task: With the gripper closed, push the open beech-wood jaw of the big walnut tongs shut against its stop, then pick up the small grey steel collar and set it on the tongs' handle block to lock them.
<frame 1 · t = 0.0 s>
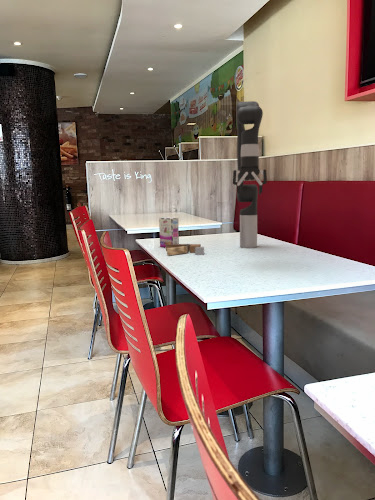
hand: (249, 194, 183), 29 cm above the table, tool pointing down, fingers open, 8 cm apart
jaw: (177, 250, 211), point 2 cm above the table, hinge at 45.0°
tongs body: (194, 251, 218), on the table
candy bar box: (169, 247, 235), on the table
collar: (199, 254, 211), on the table
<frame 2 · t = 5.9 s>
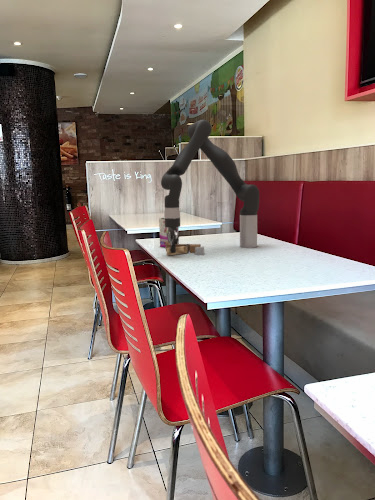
hand: (173, 252, 207), 2 cm above the table, tool pointing down, fingers closed
jaw: (176, 250, 211), point 2 cm above the table, hinge at 43.1°, touching gripper
everything else where it was.
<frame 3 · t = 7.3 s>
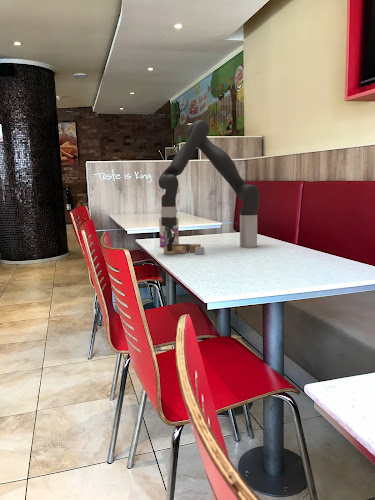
hand: (169, 251, 211), 2 cm above the table, tool pointing down, fingers closed
jaw: (174, 249, 214), point 2 cm above the table, hinge at 17.3°, touching gripper
everything else where it was.
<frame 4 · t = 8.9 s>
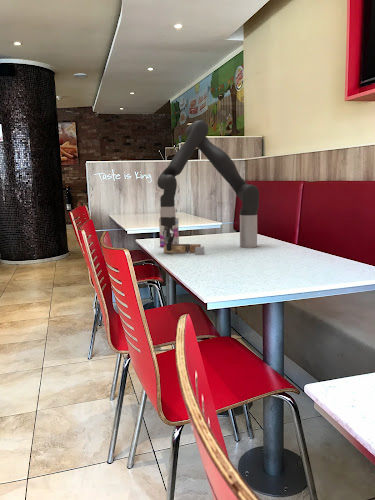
hand: (168, 250, 214), 2 cm above the table, tool pointing down, fingers closed
jaw: (174, 249, 216), point 2 cm above the table, hinge at -0.4°, touching gripper
everything else where it was.
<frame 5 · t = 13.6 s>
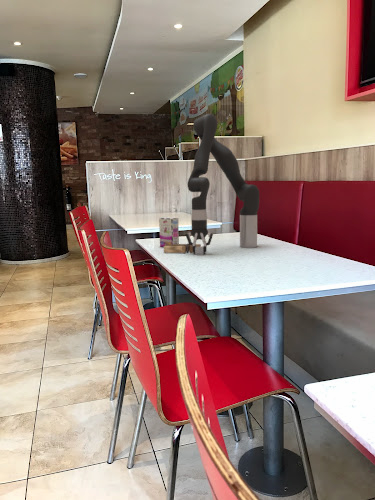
hand: (199, 253, 211), 0 cm above the table, tool pointing down, fingers closed on collar, 4 cm apart
jaw: (174, 249, 216), point 2 cm above the table, hinge at -0.5°
collar: (199, 254, 211), on the table, touching gripper
everything else where it was.
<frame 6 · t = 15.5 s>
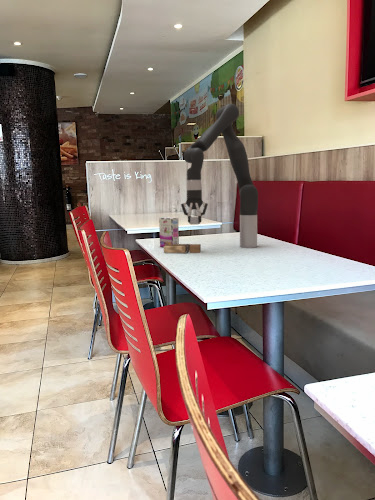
hand: (194, 223, 216), 15 cm above the table, tool pointing down, fingers closed on collar, 4 cm apart
collar: (194, 224, 216), point 14 cm above the table, touching gripper
everything else where it was.
when the fingers open (5 cm above the table, at t = 17.4 s): collar drops 1 cm, resting on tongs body.
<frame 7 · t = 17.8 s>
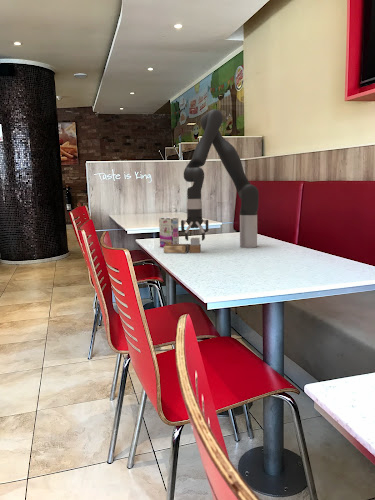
hand: (195, 240, 217), 6 cm above the table, tool pointing down, fingers open, 7 cm apart
collar: (195, 245, 218), point 3 cm above the table, touching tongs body
everything else where it was.
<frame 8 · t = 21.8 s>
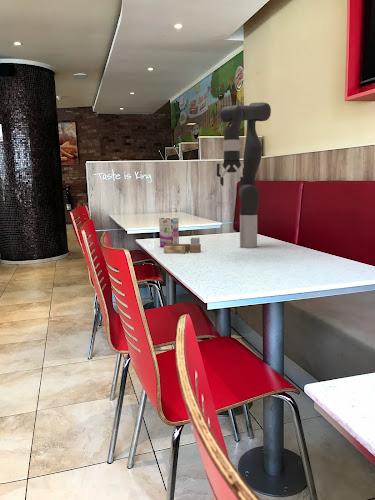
hand: (231, 185, 202), 33 cm above the table, tool pointing down, fingers open, 8 cm apart
nothing on the table moved.
at the end: jaw at +0° (first picture: +45°); collar 0.2 cm off-centre on the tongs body, point 3.5 cm above the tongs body's base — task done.
